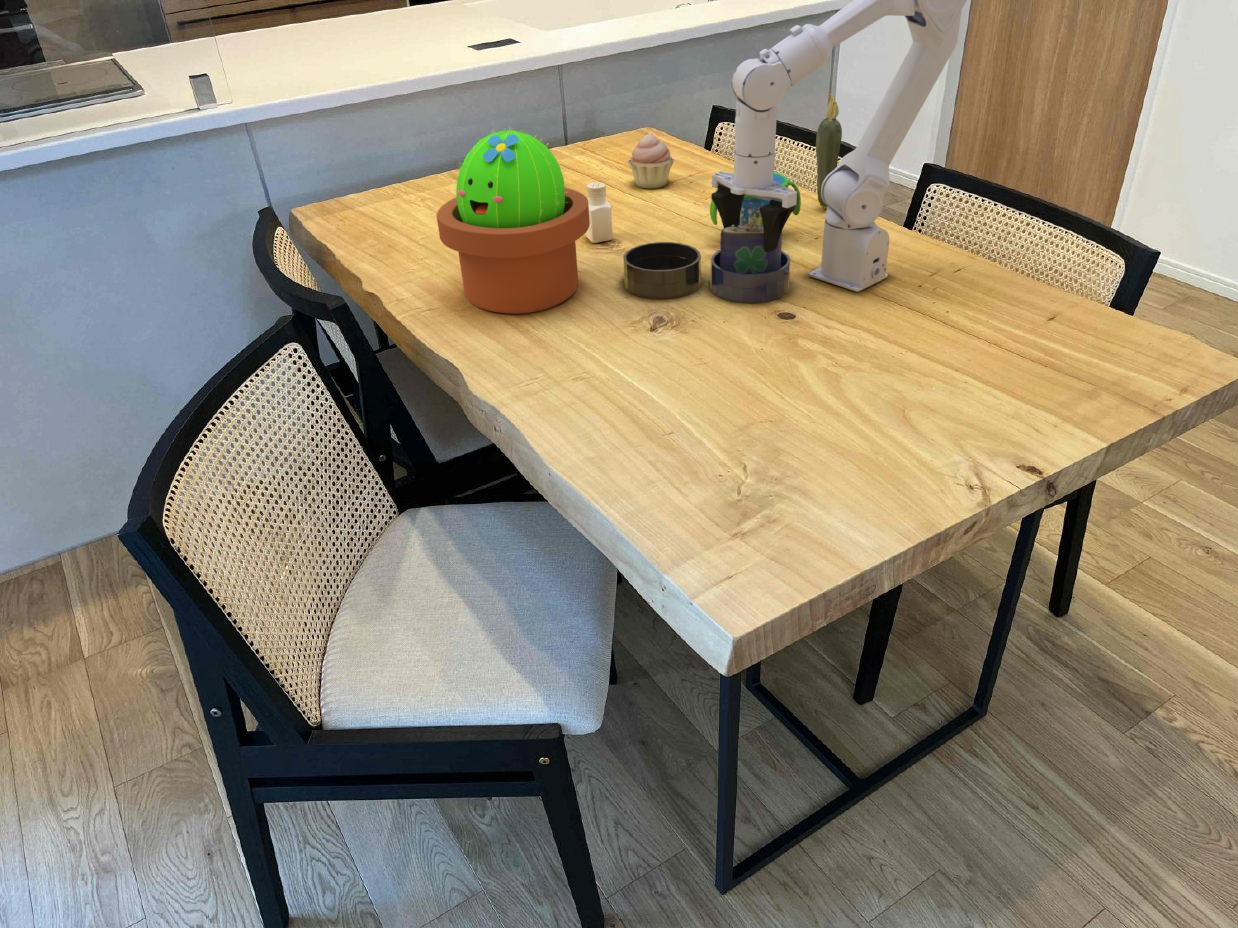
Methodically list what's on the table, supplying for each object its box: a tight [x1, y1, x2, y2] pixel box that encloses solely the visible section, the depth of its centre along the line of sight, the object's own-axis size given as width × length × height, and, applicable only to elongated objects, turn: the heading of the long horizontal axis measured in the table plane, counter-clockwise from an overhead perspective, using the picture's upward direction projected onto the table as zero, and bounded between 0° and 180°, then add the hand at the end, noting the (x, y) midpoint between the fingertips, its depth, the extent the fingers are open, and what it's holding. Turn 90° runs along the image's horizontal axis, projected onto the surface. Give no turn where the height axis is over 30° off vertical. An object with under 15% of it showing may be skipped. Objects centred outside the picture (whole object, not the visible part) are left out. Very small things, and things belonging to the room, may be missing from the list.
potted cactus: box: [436, 126, 590, 315], centre depth 139 cm, size 22×22×25 cm
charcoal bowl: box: [622, 241, 702, 300], centre depth 145 cm, size 12×12×4 cm
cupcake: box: [626, 132, 676, 190], centre depth 184 cm, size 9×9×10 cm
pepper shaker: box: [585, 181, 614, 244], centre depth 161 cm, size 4×4×10 cm
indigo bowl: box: [709, 250, 792, 304], centre depth 142 cm, size 12×12×4 cm
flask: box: [719, 217, 783, 274], centre depth 140 cm, size 9×3×11 cm, turn 87°
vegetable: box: [815, 93, 843, 210], centre depth 165 cm, size 4×4×20 cm
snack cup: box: [709, 171, 802, 228], centre depth 158 cm, size 16×10×10 cm
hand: (750, 243), depth 140 cm, fingers open, 7 cm apart
